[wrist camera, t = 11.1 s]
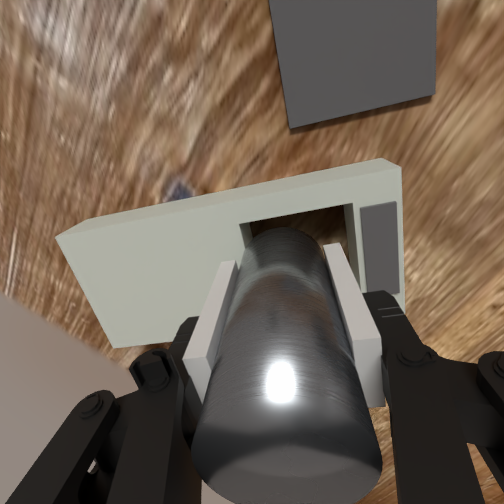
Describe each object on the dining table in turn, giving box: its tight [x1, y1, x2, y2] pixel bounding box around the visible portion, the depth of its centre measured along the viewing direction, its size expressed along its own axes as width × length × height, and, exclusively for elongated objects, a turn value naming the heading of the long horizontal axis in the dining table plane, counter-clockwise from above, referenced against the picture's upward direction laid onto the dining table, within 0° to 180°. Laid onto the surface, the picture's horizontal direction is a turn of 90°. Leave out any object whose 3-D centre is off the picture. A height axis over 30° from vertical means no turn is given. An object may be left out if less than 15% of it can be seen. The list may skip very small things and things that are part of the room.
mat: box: [269, 0, 437, 128], centre depth 14 cm, size 7×7×1 cm
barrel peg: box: [191, 227, 383, 504], centre depth 12 cm, size 4×4×10 cm
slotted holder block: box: [55, 158, 405, 348], centre depth 18 cm, size 8×18×3 cm, turn 103°
